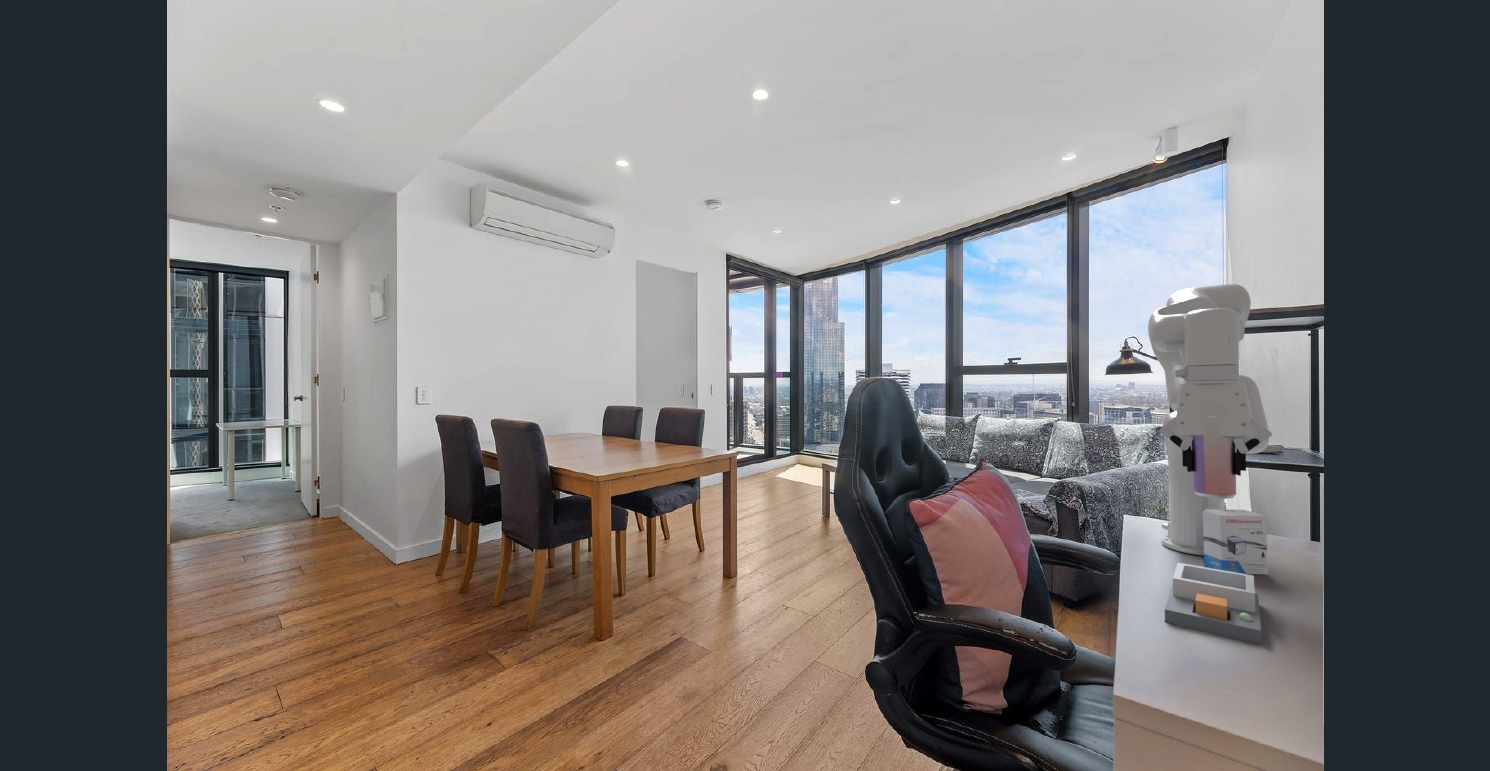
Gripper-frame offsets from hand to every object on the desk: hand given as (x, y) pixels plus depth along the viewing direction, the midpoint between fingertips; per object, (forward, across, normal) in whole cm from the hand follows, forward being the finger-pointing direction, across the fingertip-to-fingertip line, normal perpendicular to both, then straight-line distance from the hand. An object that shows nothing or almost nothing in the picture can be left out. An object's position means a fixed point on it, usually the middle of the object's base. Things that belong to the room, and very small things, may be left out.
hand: (1213, 471), depth 96 cm
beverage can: (+5, 0, 0) cm, 5 cm away
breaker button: (+21, 0, -19) cm, 28 cm away
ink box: (+22, +2, +14) cm, 26 cm away
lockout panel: (+22, 0, -14) cm, 26 cm away
